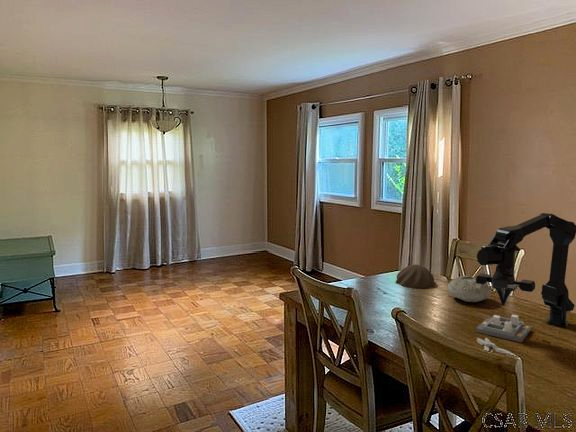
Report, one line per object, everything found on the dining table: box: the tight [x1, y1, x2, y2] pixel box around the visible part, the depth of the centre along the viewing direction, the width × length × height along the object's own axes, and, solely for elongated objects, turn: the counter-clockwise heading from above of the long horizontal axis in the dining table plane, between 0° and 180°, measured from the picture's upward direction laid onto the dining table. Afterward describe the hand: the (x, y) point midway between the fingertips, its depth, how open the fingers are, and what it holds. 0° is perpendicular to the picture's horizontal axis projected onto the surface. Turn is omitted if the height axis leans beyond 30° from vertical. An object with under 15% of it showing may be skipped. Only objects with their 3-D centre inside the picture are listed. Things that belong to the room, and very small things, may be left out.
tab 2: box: [503, 321, 514, 332], centre depth 154 cm, size 3×3×4 cm
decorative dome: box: [395, 264, 435, 289], centre depth 224 cm, size 19×20×10 cm
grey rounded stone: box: [447, 275, 492, 303], centre depth 196 cm, size 18×18×10 cm
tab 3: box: [510, 314, 520, 325], centre depth 161 cm, size 3×3×4 cm
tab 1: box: [491, 314, 502, 325], centre depth 161 cm, size 3×3×4 cm
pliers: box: [476, 337, 519, 357], centre depth 144 cm, size 10×2×15 cm
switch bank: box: [475, 316, 532, 343], centre depth 159 cm, size 14×15×3 cm
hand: (503, 305), depth 159 cm, fingers closed
